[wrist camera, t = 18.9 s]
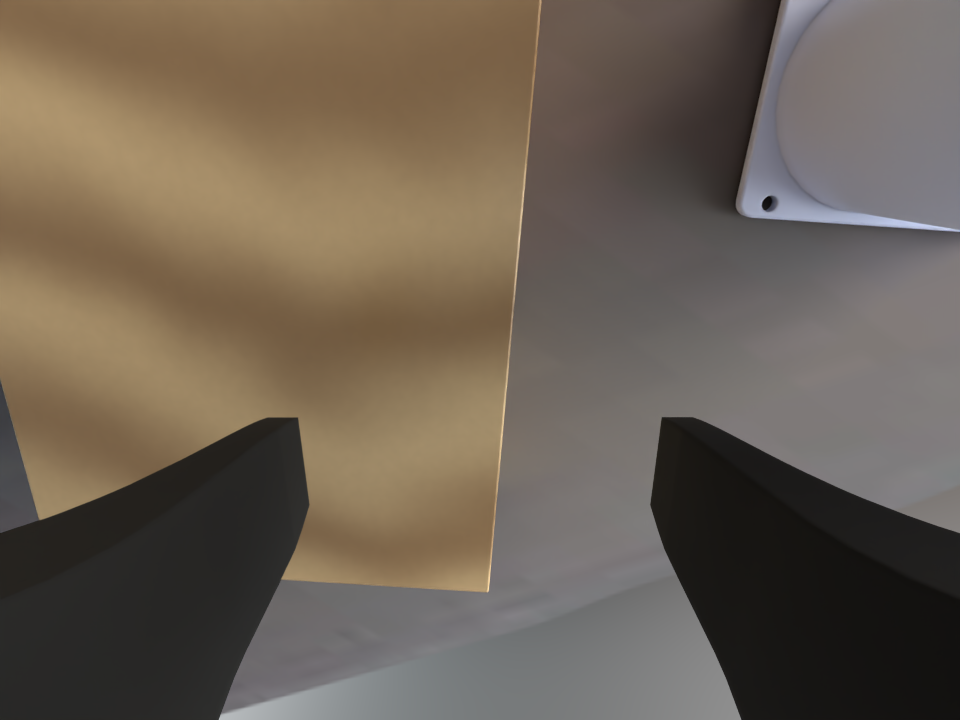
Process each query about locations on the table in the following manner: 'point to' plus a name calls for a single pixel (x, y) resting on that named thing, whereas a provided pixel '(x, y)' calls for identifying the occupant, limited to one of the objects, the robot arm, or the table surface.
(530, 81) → the cabinet
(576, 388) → the table surface
